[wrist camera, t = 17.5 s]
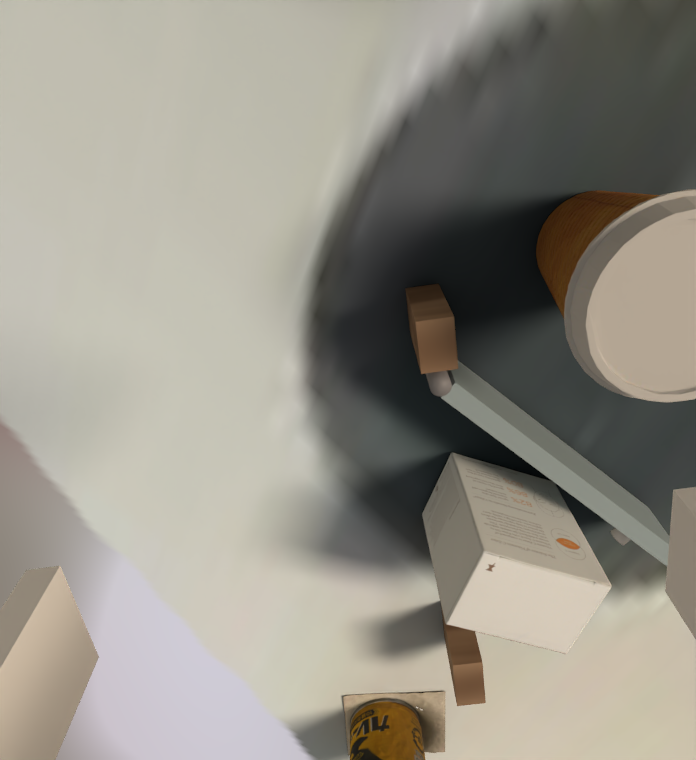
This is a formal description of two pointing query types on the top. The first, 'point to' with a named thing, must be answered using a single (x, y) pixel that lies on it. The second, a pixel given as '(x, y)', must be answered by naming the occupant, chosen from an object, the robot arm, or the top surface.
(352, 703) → the condiment
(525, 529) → the small box
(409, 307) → the brown upright pieces
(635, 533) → the door
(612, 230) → the disposable coffee cup
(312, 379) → the top surface
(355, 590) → the top surface
